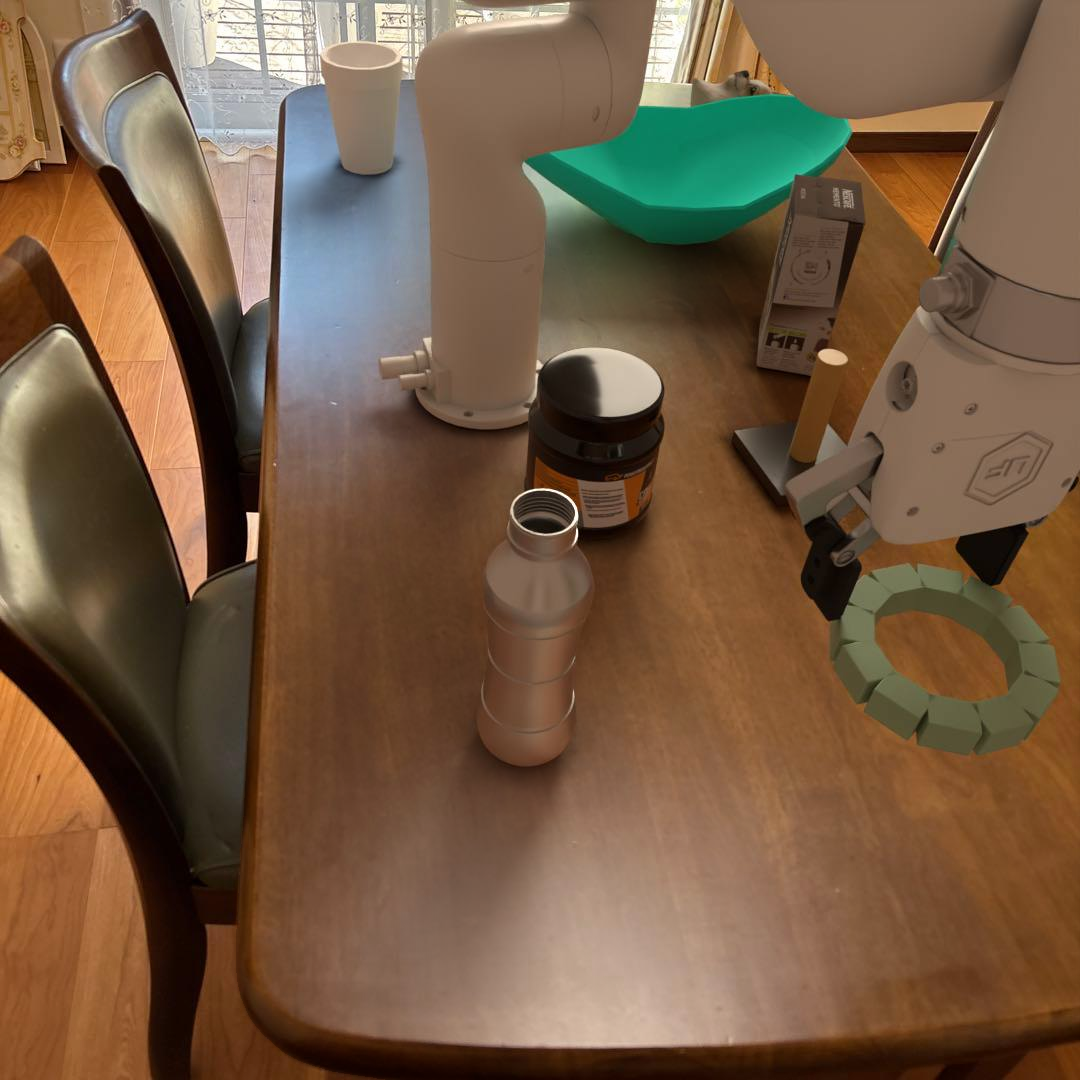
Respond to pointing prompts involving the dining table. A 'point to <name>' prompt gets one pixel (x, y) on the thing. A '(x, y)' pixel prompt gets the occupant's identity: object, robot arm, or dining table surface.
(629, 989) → the dining table surface
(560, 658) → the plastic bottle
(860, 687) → the ring
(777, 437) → the peg stand
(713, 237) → the table top decor
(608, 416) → the supplement container
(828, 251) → the coffee box
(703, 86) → the ceramic sculpture
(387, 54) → the foam cup
